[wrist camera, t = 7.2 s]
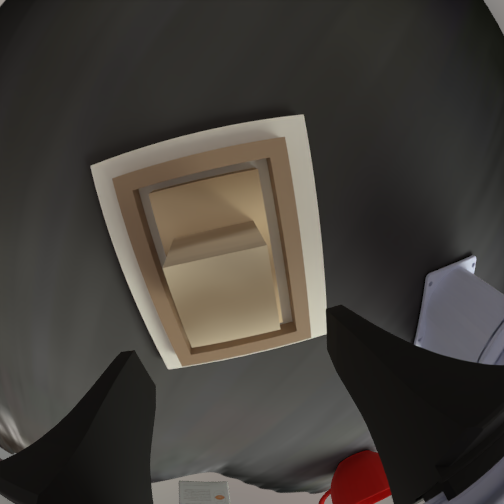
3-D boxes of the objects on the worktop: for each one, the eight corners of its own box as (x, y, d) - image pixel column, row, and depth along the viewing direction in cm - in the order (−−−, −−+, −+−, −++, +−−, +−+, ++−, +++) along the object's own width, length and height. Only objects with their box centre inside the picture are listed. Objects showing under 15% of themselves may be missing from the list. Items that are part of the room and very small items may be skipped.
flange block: (152, 190, 15) (127, 210, 10) (254, 167, 15) (274, 176, 10) (195, 330, 19) (194, 384, 14) (279, 312, 19) (299, 362, 14)
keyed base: (323, 326, 21) (333, 342, 19) (169, 361, 21) (167, 379, 19) (298, 116, 15) (310, 112, 13) (96, 164, 15) (81, 167, 13)
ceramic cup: (289, 481, 35) (301, 524, 26) (368, 436, 32) (392, 484, 23) (328, 483, 40) (341, 518, 30) (396, 443, 37) (416, 479, 27)
